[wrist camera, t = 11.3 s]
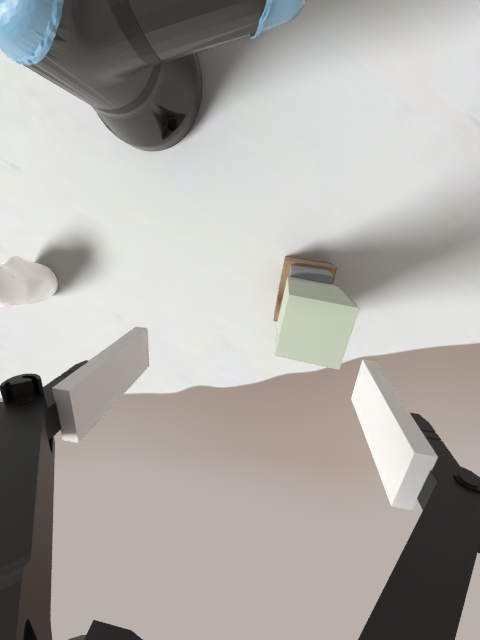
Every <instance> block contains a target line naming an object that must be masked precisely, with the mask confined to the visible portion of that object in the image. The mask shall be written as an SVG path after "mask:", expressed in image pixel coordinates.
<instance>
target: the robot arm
mask: <svg viewBox="0 0 480 640" xmlns="http://www.w3.org/2000/svg"><path fill="white" fill-rule="evenodd" d="M305 2H306V0H0V49H1V50H2V51H3V52H4V53H5V54H6V55H7V56H8V57H9V58H10V59H12V60H13V61H15V62H17V63H19V64H23V65H24V66H26V67H28V68H29V69H31V70H33V71H34V72H36V73H38V74H39V75H41V76H43V77H44V78H46V79H48V80H49V81H51V82H53V83H55V84H56V85H58V86H60V87H61V88H63V89H65V90H66V91H68V92H70V93H71V94H73V95H75V96H76V97H78V98H80V99H81V100H83V101H85V102H86V103H88V104H90V105H91V106H92V107H93V108H94V110H95V111H96V112H97V114H98V115H99V117H100V118H101V120H102V121H103V123H104V124H105V125H106V127H107V128H108V129H109V130H110V131H111V132H112V133H113V134H114V135H115V136H117V137H118V138H119V139H121V140H122V141H124V142H126V143H128V144H129V145H131V146H133V147H135V148H138V149H141V150H145V151H160V150H164V149H167V148H169V147H171V146H173V145H175V144H176V143H178V142H179V141H180V140H181V139H182V138H183V137H184V136H185V135H186V134H187V133H188V131H189V130H190V128H191V127H192V125H193V123H194V121H195V119H196V116H197V114H198V110H199V107H200V102H201V95H202V78H201V71H200V66H199V62H198V59H197V56H196V52H200V51H203V50H206V49H209V48H212V47H216V46H219V45H222V44H225V43H228V42H231V41H235V40H238V39H241V38H244V37H247V36H249V38H250V39H254V38H256V37H258V36H259V35H260V34H261V32H263V31H266V30H268V29H271V28H274V27H276V26H279V25H281V24H284V23H287V22H289V21H291V20H292V19H293V18H295V17H296V16H297V14H298V13H299V11H300V10H301V8H302V7H303V5H304V3H305ZM148 367H149V353H148V331H147V328H141V327H135V328H134V329H132V330H131V331H129V332H128V333H127V334H125V335H124V336H123V337H121V338H120V339H118V340H117V341H116V342H114V343H113V344H112V345H110V346H109V347H108V348H106V349H105V350H103V351H102V352H101V353H99V354H98V355H97V356H95V357H94V358H92V359H91V360H90V361H83V362H81V363H78V364H76V365H74V366H73V367H71V368H70V369H69V370H68V371H66V372H64V373H63V374H61V376H59V377H57V378H56V379H54V380H53V381H51V382H50V383H49V384H47V385H46V386H44V387H43V386H42V382H41V378H40V376H39V375H37V374H22V375H18V376H15V377H12V378H10V379H7V380H6V381H5V382H3V383H2V384H1V385H0V391H1V394H2V398H3V401H4V402H0V640H52V633H51V622H50V606H51V605H50V604H51V570H52V533H53V528H52V527H53V493H54V456H55V440H54V435H55V434H56V433H57V432H58V431H59V430H61V433H62V438H63V440H67V441H71V442H76V443H79V442H80V441H81V440H82V439H83V438H84V437H85V435H86V434H87V433H88V432H89V431H90V430H91V429H92V428H93V427H94V425H96V424H97V422H98V421H99V420H100V419H101V418H102V417H103V416H104V415H105V414H106V413H107V412H108V410H109V409H110V408H111V407H112V406H113V405H114V404H115V403H116V402H117V400H119V398H120V397H121V396H122V395H123V394H124V393H125V392H126V391H127V390H128V389H129V388H130V386H131V385H132V384H133V383H134V382H135V381H136V380H137V379H138V378H139V377H140V376H141V374H142V373H143V372H144V371H145V370H146V369H147V368H148ZM351 399H352V402H353V405H354V407H355V410H356V413H357V415H358V418H359V421H360V423H361V426H362V429H363V432H364V434H365V437H366V440H367V442H368V445H369V448H370V450H371V453H372V456H373V458H374V461H375V464H376V466H377V469H378V472H379V474H380V477H381V480H382V482H383V485H384V488H385V490H386V493H387V496H388V498H389V501H390V504H391V506H393V507H398V508H403V509H408V510H413V508H414V506H415V504H416V502H417V500H418V501H419V503H420V505H421V507H422V509H423V512H422V514H421V516H420V518H419V520H418V522H417V524H416V526H415V528H414V530H413V532H412V534H411V536H410V538H409V540H408V542H407V544H406V546H405V547H404V550H403V552H402V553H401V555H400V558H399V559H398V562H397V564H396V565H395V568H394V569H393V571H392V573H391V575H390V577H389V580H388V581H387V583H386V586H385V587H384V589H383V591H382V593H381V596H380V597H379V599H378V601H377V603H376V605H375V607H374V609H373V611H372V613H371V615H370V617H369V619H368V621H367V623H366V625H365V627H364V629H363V631H362V633H361V635H360V637H359V639H358V640H455V637H456V633H457V629H458V625H459V621H460V617H461V614H462V610H463V606H464V602H465V598H466V594H467V590H468V586H469V583H470V579H471V575H472V571H473V567H474V563H475V560H476V556H477V552H478V553H480V477H478V476H477V475H475V474H474V473H473V472H471V471H469V470H467V469H465V468H463V467H460V466H459V464H458V463H457V461H456V460H455V459H454V458H453V456H452V454H451V453H450V451H449V450H448V449H447V447H446V446H445V445H444V443H443V442H442V441H441V439H440V437H439V436H438V435H437V434H436V433H435V430H434V429H433V428H432V426H431V425H430V424H429V422H427V421H426V420H425V419H424V418H423V417H421V416H420V415H419V414H415V413H409V411H408V410H407V409H406V407H405V405H404V404H403V402H402V400H401V399H400V397H399V396H398V394H397V393H396V391H395V390H394V388H393V387H392V385H391V384H390V382H389V381H388V379H387V377H386V376H385V374H384V373H383V371H382V370H381V368H380V367H379V365H378V363H377V362H375V361H368V360H362V363H361V367H360V370H359V374H358V377H357V381H356V384H355V388H354V391H353V395H352V398H351ZM69 640H142V639H141V638H140V637H139V636H137V635H136V634H135V633H134V632H132V631H131V630H128V629H124V628H121V627H117V626H113V625H110V624H106V623H103V622H99V621H96V620H93V622H92V625H91V627H90V629H89V631H88V633H87V635H81V636H78V637H75V638H71V639H69Z"/></svg>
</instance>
